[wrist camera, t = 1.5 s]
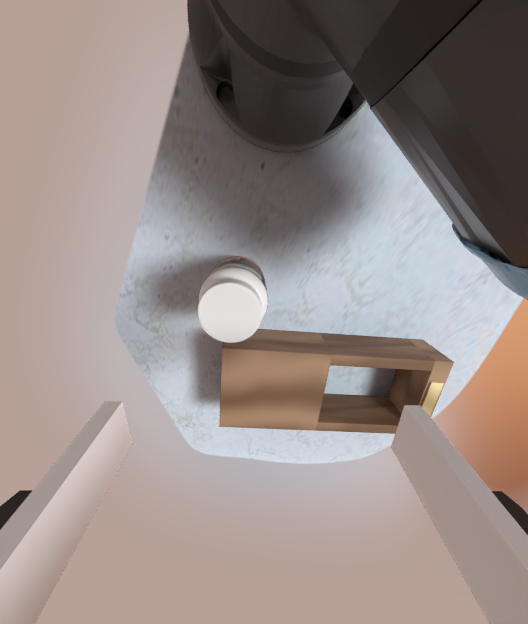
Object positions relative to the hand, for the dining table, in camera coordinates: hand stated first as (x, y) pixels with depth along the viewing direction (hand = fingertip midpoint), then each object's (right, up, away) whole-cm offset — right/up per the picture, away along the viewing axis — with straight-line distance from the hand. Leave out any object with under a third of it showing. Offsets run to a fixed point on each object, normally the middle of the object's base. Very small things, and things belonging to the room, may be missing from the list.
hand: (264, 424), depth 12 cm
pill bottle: (-3, +9, +15) cm, 18 cm away
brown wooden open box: (+7, -2, +19) cm, 21 cm away
